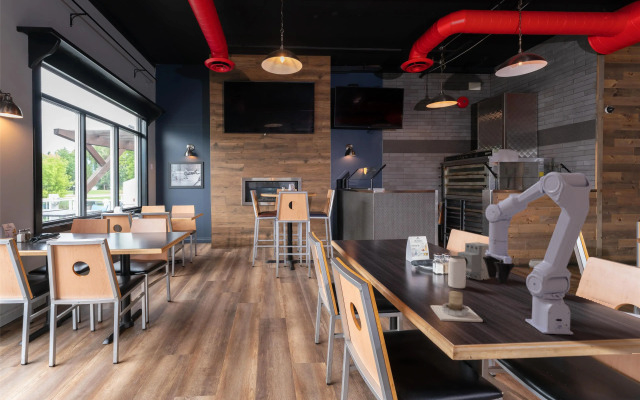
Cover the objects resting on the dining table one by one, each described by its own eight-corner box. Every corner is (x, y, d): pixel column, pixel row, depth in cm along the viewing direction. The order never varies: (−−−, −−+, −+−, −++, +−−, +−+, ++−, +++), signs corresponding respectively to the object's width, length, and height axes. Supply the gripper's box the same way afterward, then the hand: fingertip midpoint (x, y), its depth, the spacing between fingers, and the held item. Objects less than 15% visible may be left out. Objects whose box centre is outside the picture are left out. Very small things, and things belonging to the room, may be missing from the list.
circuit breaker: (454, 277, 154) (455, 243, 154) (477, 274, 160) (478, 242, 160) (468, 281, 148) (468, 246, 147) (491, 278, 154) (492, 244, 153)
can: (466, 289, 136) (467, 258, 135) (449, 288, 137) (450, 258, 137) (463, 284, 142) (464, 255, 142) (446, 283, 143) (447, 255, 143)
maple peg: (464, 314, 106) (464, 294, 106) (451, 313, 106) (451, 294, 106) (459, 310, 110) (460, 291, 110) (446, 309, 110) (447, 290, 110)
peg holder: (482, 322, 102) (482, 314, 102) (441, 320, 103) (441, 313, 103) (467, 308, 114) (467, 301, 114) (430, 307, 115) (430, 300, 115)
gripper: (477, 237, 124) (476, 274, 125) (495, 243, 110) (494, 286, 110) (497, 237, 124) (496, 275, 124) (518, 243, 109) (517, 286, 110)
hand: (497, 280), depth 117 cm, fingers open, 7 cm apart
